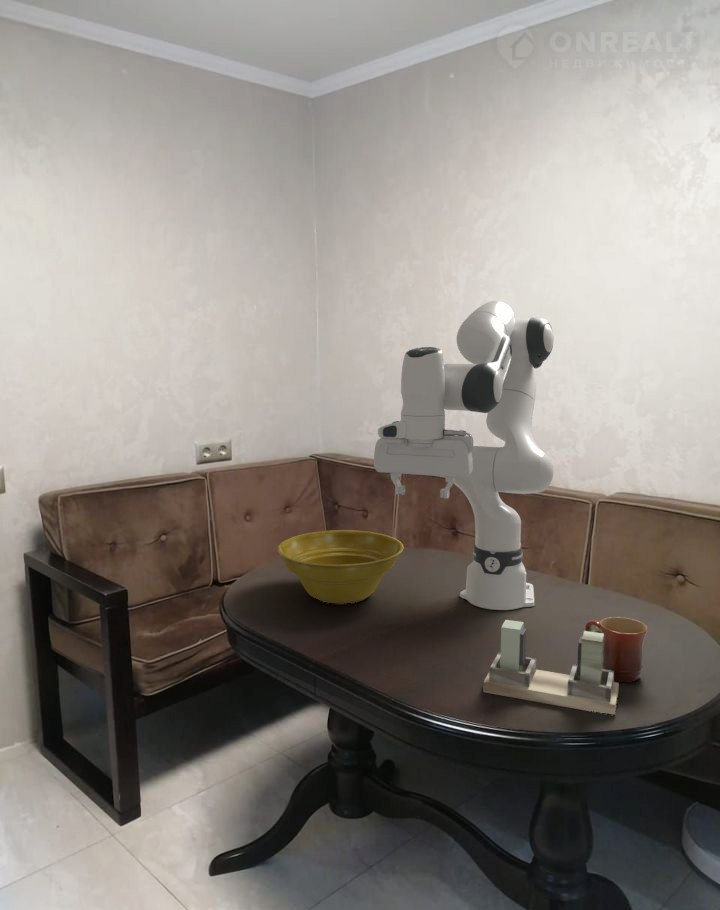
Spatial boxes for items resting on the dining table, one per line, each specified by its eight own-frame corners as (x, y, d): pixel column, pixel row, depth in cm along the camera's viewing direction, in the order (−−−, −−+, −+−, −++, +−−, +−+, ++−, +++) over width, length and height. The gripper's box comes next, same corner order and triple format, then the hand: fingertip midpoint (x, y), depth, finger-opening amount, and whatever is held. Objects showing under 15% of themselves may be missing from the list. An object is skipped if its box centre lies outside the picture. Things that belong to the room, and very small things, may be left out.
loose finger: (504, 669, 138) (505, 619, 137) (525, 673, 137) (527, 622, 135) (500, 678, 135) (501, 627, 133) (521, 682, 133) (523, 630, 132)
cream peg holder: (494, 672, 142) (495, 613, 140) (618, 693, 133) (621, 630, 131) (483, 692, 134) (484, 630, 132) (614, 715, 125) (618, 649, 123)
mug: (653, 675, 140) (655, 625, 139) (632, 690, 134) (635, 637, 132) (595, 657, 148) (597, 609, 147) (573, 670, 142) (575, 620, 141)
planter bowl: (371, 627, 165) (371, 570, 164) (253, 606, 179) (252, 553, 177) (421, 585, 194) (422, 537, 192) (316, 570, 208) (316, 525, 206)
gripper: (477, 429, 144) (476, 497, 146) (382, 425, 152) (382, 490, 154) (469, 432, 139) (468, 503, 141) (370, 428, 147) (370, 495, 149)
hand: (422, 496), depth 148 cm, fingers open, 8 cm apart
